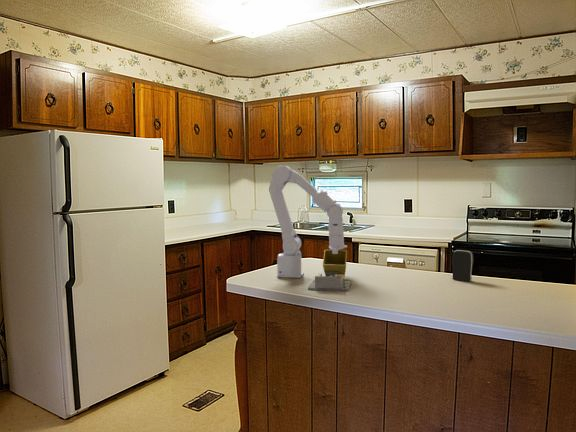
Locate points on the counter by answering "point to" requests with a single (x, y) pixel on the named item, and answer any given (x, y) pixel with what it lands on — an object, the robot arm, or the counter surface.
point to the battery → (462, 265)
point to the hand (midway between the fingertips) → (337, 268)
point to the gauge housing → (329, 283)
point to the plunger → (333, 274)
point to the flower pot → (335, 261)
